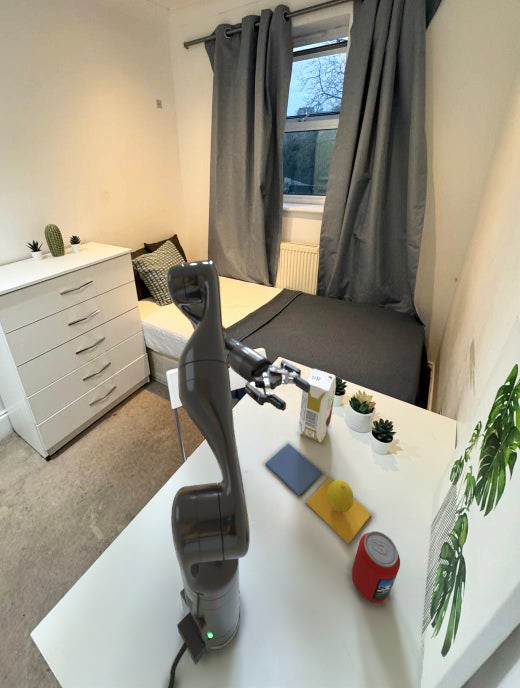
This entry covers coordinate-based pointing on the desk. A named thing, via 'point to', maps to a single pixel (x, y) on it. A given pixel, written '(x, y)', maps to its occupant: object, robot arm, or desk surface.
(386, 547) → the beverage can
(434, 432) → the desk surface
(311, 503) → the mustard mat
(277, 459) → the slate mat
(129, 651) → the desk surface
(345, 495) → the lemon
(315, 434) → the juice carton
